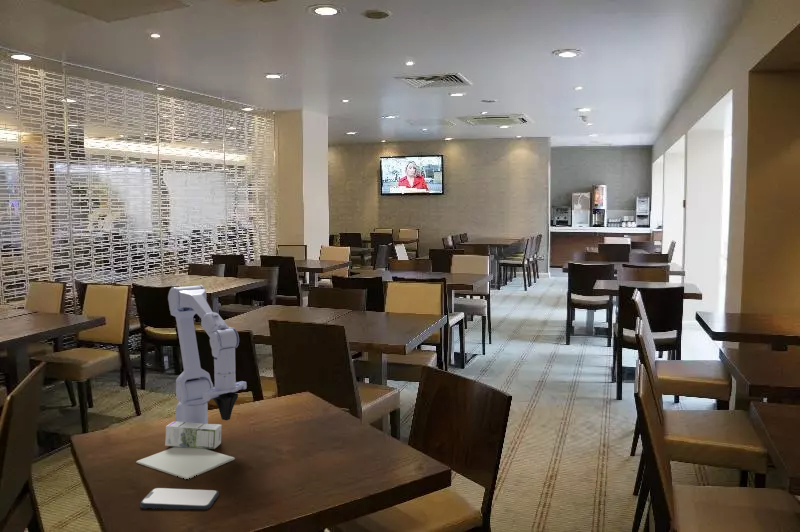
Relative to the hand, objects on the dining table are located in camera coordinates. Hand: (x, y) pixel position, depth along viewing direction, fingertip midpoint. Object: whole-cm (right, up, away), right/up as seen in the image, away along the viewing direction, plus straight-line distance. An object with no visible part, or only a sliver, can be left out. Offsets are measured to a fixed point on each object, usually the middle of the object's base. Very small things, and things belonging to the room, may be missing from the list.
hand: (225, 419), depth 187 cm
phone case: (-2, -12, -33) cm, 35 cm away
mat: (-8, -9, -9) cm, 15 cm away
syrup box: (-2, -5, +1) cm, 6 cm away
